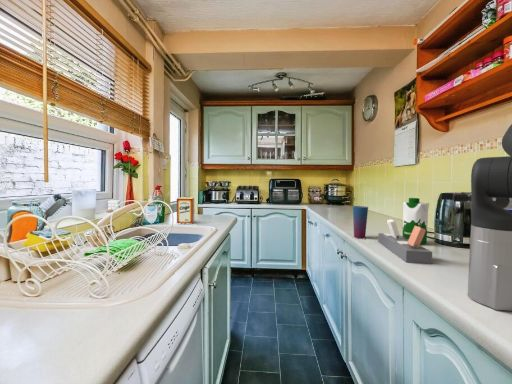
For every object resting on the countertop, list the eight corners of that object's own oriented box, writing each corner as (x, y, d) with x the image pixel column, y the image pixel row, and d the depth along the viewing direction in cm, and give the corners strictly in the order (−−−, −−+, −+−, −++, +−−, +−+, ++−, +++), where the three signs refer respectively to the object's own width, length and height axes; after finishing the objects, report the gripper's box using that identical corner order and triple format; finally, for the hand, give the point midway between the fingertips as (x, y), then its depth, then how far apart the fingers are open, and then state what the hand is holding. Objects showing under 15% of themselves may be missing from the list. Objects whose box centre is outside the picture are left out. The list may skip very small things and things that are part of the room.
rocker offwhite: (400, 237, 100) (394, 220, 100) (396, 238, 100) (390, 222, 100) (396, 235, 104) (390, 219, 104) (391, 236, 105) (386, 220, 105)
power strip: (431, 263, 83) (432, 251, 83) (405, 262, 84) (406, 249, 84) (390, 238, 118) (391, 229, 118) (373, 238, 119) (373, 229, 119)
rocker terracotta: (417, 248, 86) (426, 229, 86) (412, 246, 87) (421, 227, 86) (411, 245, 91) (419, 227, 90) (406, 243, 91) (414, 225, 90)
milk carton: (399, 241, 113) (400, 197, 112) (408, 239, 118) (410, 197, 117) (420, 246, 106) (422, 199, 105) (429, 243, 111) (431, 198, 110)
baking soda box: (194, 221, 161) (194, 197, 160) (192, 223, 154) (192, 197, 154) (179, 222, 160) (179, 197, 159) (176, 223, 154) (176, 197, 153)
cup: (368, 239, 117) (369, 207, 116) (353, 238, 118) (354, 207, 118) (365, 236, 124) (366, 206, 123) (350, 235, 125) (351, 205, 124)
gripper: (485, 186, 91) (435, 185, 93) (521, 187, 76) (461, 187, 79) (484, 206, 91) (434, 205, 93) (520, 211, 77) (460, 210, 79)
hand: (447, 197), depth 86 cm, fingers open, 6 cm apart
